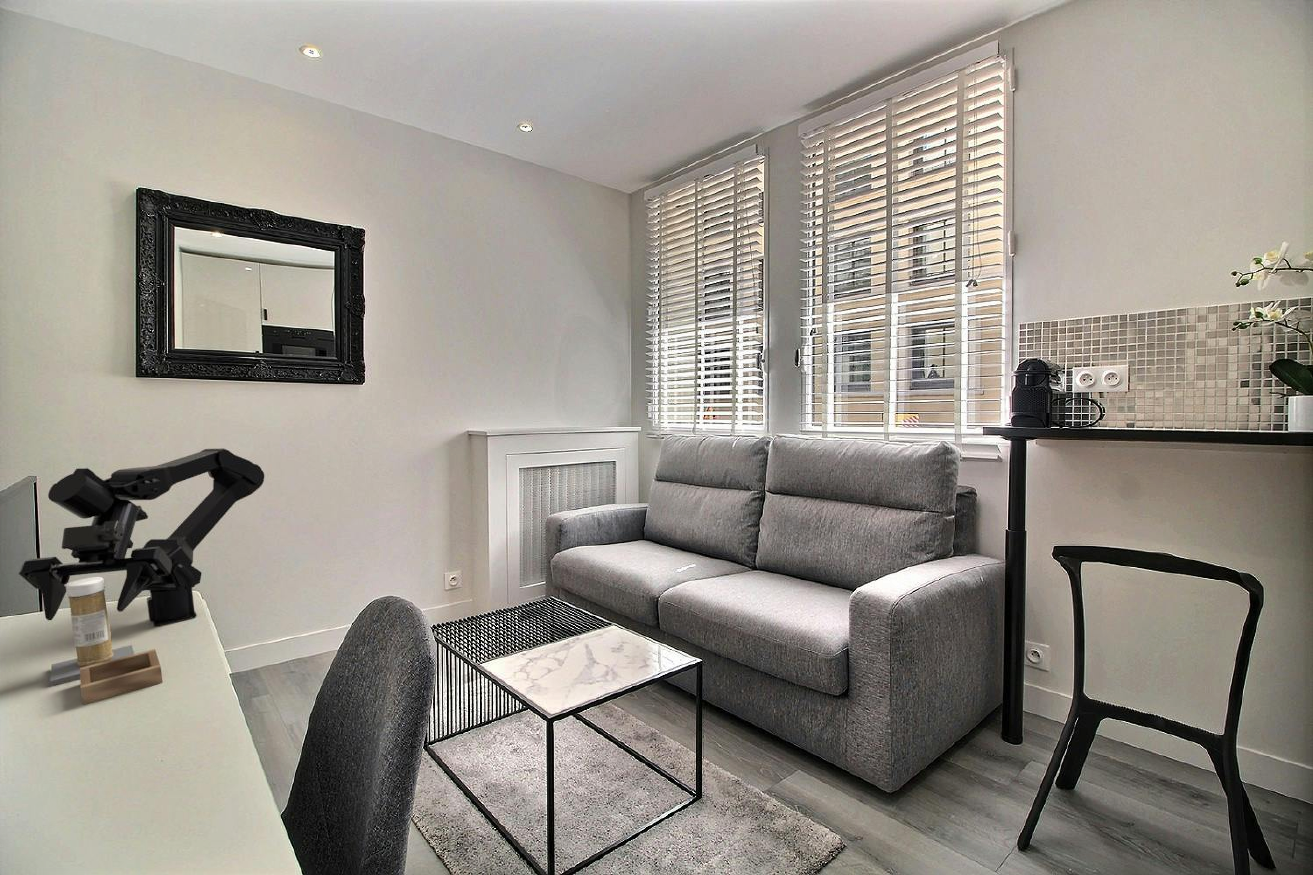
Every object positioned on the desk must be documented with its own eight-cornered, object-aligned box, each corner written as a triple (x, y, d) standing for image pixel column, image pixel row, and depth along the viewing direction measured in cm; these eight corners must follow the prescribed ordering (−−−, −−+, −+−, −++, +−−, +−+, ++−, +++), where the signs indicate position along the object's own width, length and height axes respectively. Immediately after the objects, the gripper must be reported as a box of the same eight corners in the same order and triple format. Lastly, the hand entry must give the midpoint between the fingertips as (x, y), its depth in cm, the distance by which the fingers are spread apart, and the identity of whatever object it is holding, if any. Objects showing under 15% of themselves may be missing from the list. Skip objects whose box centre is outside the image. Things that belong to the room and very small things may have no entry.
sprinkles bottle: (116, 652, 106) (106, 573, 104) (111, 662, 102) (100, 581, 100) (79, 659, 103) (69, 579, 102) (73, 670, 99) (62, 587, 98)
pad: (132, 649, 108) (131, 644, 108) (135, 663, 103) (135, 659, 102) (52, 669, 102) (51, 664, 102) (50, 686, 96) (50, 681, 96)
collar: (156, 663, 102) (155, 648, 102) (162, 682, 96) (160, 666, 96) (82, 683, 96) (80, 667, 96) (82, 704, 90) (80, 687, 90)
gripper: (17, 510, 101) (-22, 600, 92) (156, 499, 107) (133, 583, 97) (53, 546, 109) (21, 632, 100) (181, 534, 115) (161, 614, 106)
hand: (84, 614), depth 100 cm, fingers open, 9 cm apart
